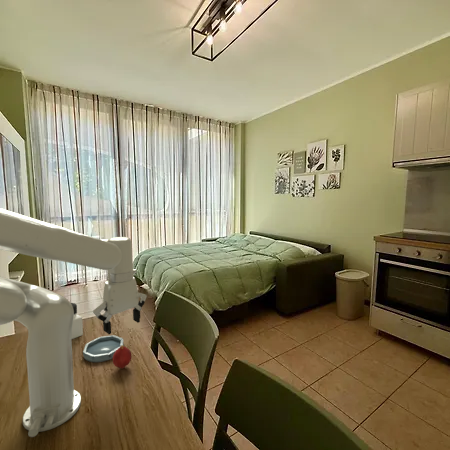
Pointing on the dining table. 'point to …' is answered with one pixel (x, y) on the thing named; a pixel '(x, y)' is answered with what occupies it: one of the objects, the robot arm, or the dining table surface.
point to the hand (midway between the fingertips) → (122, 326)
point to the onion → (122, 357)
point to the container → (76, 323)
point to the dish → (102, 348)
